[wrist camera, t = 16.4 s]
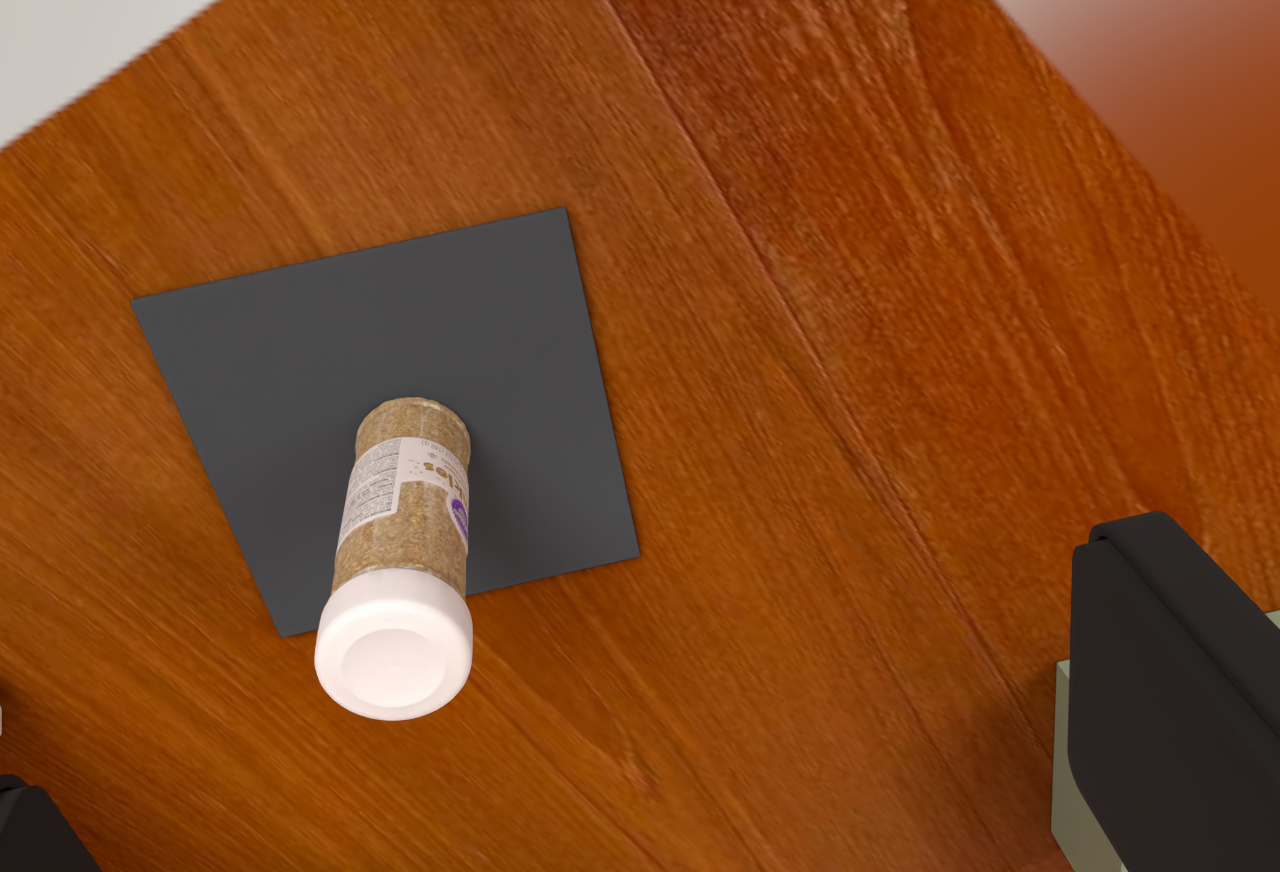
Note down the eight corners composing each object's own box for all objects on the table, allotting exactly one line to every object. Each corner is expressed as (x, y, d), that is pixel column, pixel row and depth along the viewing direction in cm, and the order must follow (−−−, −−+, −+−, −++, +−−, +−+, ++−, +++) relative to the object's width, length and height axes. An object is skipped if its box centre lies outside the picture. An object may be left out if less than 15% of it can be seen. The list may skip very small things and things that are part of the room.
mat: (565, 205, 39) (566, 208, 39) (639, 551, 48) (640, 556, 47) (132, 298, 39) (129, 302, 39) (281, 632, 47) (280, 638, 47)
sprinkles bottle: (492, 454, 44) (503, 680, 32) (400, 509, 44) (377, 750, 33) (425, 370, 41) (411, 579, 30) (329, 429, 42) (277, 657, 30)
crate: (1300, 604, 55) (1403, 700, 49) (1268, 779, 62) (1356, 882, 56) (1056, 661, 55) (1129, 765, 48) (1050, 831, 61) (1114, 941, 55)
